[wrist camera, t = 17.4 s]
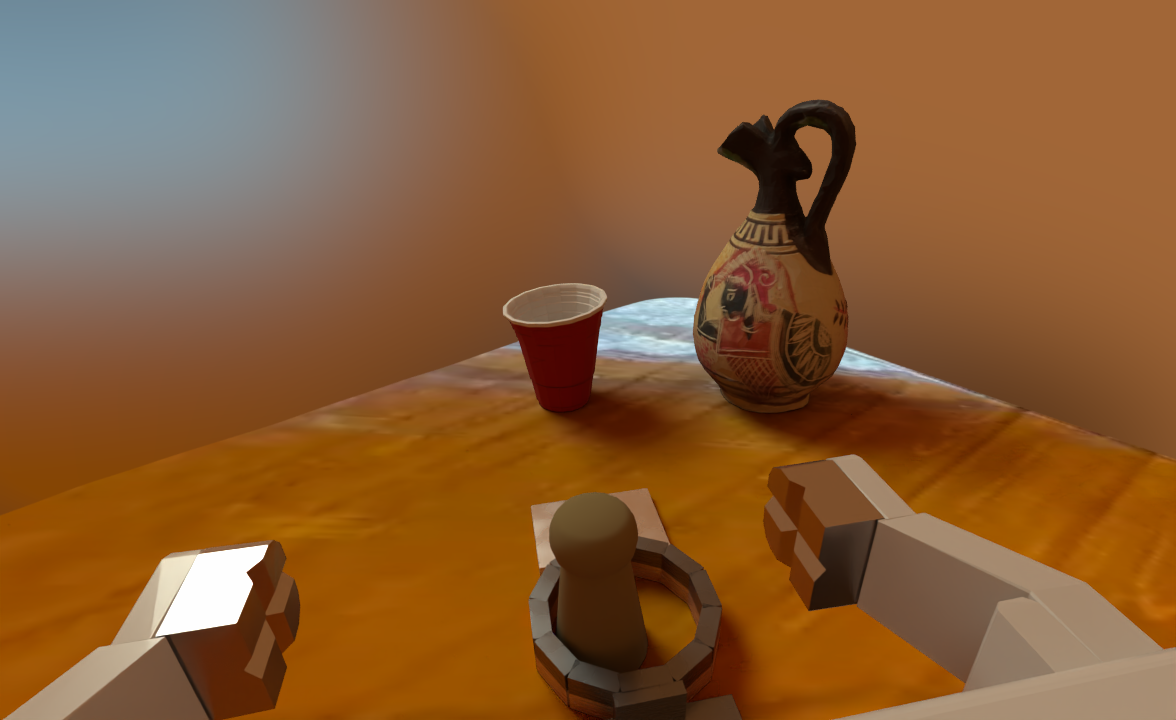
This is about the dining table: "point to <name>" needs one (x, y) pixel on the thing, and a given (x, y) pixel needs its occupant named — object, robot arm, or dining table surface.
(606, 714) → the ring
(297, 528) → the dining table surface
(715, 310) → the ceramic jug
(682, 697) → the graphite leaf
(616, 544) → the cork
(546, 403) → the plastic cup
